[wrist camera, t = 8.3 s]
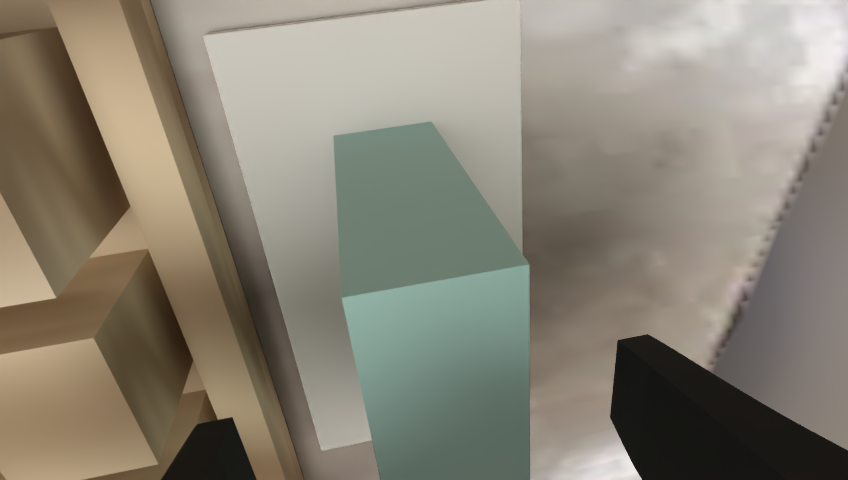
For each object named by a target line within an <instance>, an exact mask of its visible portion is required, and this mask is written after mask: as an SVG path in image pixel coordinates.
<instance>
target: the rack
mask: <svg viewBox="0 0 848 480" xmlns="http://www.w3.org/2000/svg"><path fill="white" fill-rule="evenodd" d="M50 27H58V30H59V32H60V35H61V37H62V39H63V42H64V44H65V47H66V49H67V52H68V54H69V57H70V59H71V61H72V64H73V66H74V69H75V71H76V74H77V76H78V79H79V81H80V83H81V86H82V88H83V91H84V93H85V96H86V98H87V101H88V103H89V106H90V108H91V110H92V113H93V115H94V118H95V120H96V123H97V125H98V128H99V130H100V132H101V135H102V137H103V140H104V142H105V145H106V147H107V150H108V152H109V154H110V157H111V159H112V162H113V164H114V167H115V169H116V172H117V174H118V176H119V179H120V181H121V184H122V186H123V189H124V191H125V194H126V196H127V199H128V201H129V203H130V206H131V207H130V208H129V209H128V210H127V211H126V213H125V214H124V215H123V216H122V218H121V219H120V220H119V221H118V223H117V224H116V225H115V226H114V228H113V229H112V230H111V231H110V232H109V234H108V235H107V236H106V237H105V239H104V240H103V241H102V242H101V244H100V245H99V246H98V247H97V249H96V250H95V251H94V252H93V254H92V255H91V256H90V257H89V258H93V257H99V256H106V255H112V254H118V253H124V252H130V251H136V250H143V249H148V250H149V252H150V255H151V257H152V260H153V262H154V265H155V267H156V270H157V272H158V274H159V277H160V279H161V282H162V284H163V287H164V289H165V292H166V294H167V296H168V299H169V301H170V304H171V306H172V309H173V311H174V314H175V316H176V318H177V321H178V323H179V326H180V328H181V331H182V333H183V336H184V338H185V340H186V343H187V345H188V348H189V350H190V353H191V355H192V358H193V363H192V366H191V369H190V372H189V375H188V378H187V381H186V384H185V387H184V390H183V393H182V394H185V393H190V392H195V391H200V390H206V392H207V394H208V397H209V399H210V402H211V404H212V407H213V409H214V411H215V414H216V416H217V419H218V420H220V419H225V418H230V417H233V420H234V422H235V425H236V428H237V430H238V433H239V435H240V438H241V440H242V443H243V446H244V448H245V451H246V453H247V456H248V459H249V461H250V464H251V466H252V469H253V472H254V474H255V477H256V479H257V480H304V478H303V475H302V472H301V469H300V466H299V463H298V459H297V456H296V453H295V450H294V447H293V444H292V441H291V438H290V435H289V432H288V428H287V425H286V422H285V419H284V416H283V413H282V410H281V407H280V404H279V400H278V397H277V394H276V391H275V388H274V385H273V382H272V379H271V376H270V372H269V369H268V366H267V363H266V360H265V357H264V354H263V351H262V348H261V344H260V341H259V338H258V335H257V332H256V329H255V326H254V323H253V320H252V316H251V313H250V310H249V307H248V304H247V301H246V298H245V295H244V292H243V288H242V285H241V282H240V279H239V276H238V273H237V270H236V267H235V264H234V260H233V257H232V254H231V251H230V248H229V245H228V242H227V239H226V236H225V233H224V229H223V226H222V223H221V220H220V217H219V214H218V211H217V208H216V205H215V201H214V198H213V195H212V192H211V189H210V186H209V183H208V180H207V177H206V173H205V170H204V167H203V164H202V161H201V158H200V155H199V152H198V149H197V145H196V142H195V139H194V136H193V133H192V130H191V127H190V124H189V121H188V117H187V114H186V111H185V108H184V105H183V102H182V99H181V96H180V93H179V89H178V86H177V83H176V80H175V77H174V74H173V71H172V68H171V65H170V61H169V58H168V55H167V52H166V49H165V46H164V43H163V40H162V37H161V34H160V30H159V27H158V24H157V21H156V18H155V15H154V12H153V9H152V6H151V2H150V0H0V33H8V32H17V31H25V30H33V29H42V28H50ZM0 480H6V479H5V477H4V476H3V475H2V473H1V472H0Z"/></svg>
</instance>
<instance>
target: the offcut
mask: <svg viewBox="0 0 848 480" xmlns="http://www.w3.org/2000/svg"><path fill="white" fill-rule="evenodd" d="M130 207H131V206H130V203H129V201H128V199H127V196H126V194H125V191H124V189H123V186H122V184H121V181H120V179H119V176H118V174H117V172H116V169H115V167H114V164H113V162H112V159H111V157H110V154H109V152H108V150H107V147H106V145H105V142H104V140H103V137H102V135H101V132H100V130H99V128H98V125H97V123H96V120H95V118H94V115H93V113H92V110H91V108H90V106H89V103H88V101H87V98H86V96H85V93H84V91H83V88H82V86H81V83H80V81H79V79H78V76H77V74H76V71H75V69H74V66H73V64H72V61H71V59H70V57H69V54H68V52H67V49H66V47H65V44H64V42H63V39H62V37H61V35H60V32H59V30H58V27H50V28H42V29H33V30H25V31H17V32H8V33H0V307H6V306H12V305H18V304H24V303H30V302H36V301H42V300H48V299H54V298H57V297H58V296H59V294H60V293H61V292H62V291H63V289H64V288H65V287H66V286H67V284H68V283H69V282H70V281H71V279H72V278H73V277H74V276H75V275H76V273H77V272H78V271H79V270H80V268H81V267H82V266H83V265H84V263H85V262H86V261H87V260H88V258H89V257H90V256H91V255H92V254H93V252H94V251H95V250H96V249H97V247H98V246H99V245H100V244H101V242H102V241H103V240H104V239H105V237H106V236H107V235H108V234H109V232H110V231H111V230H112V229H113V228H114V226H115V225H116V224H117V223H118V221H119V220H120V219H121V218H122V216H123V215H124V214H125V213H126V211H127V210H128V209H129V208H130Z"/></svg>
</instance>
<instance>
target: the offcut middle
mask: <svg viewBox="0 0 848 480" xmlns="http://www.w3.org/2000/svg"><path fill="white" fill-rule="evenodd" d="M192 363H193V358H192V355H191V353H190V350H189V348H188V345H187V343H186V340H185V338H184V336H183V333H182V331H181V328H180V326H179V323H178V321H177V318H176V316H175V314H174V311H173V309H172V306H171V304H170V301H169V299H168V296H167V294H166V292H165V289H164V287H163V284H162V282H161V279H160V277H159V274H158V272H157V270H156V267H155V265H154V262H153V260H152V257H151V255H150V252H149V250H148V249H143V250H136V251H130V252H124V253H118V254H112V255H106V256H99V257H93V258H88V260H87V261H86V262H85V263H84V265H83V266H82V267H81V268H80V270H79V271H78V272H77V273H76V275H75V276H74V277H73V278H72V279H71V281H70V282H69V283H68V284H67V286H66V287H65V288H64V289H63V291H62V292H61V293H60V294H59V296H58V297H57V298H54V299H48V300H42V301H36V302H30V303H24V304H18V305H12V306H6V307H0V472H1V473H2V475H3V476H4V477H5V479H6V480H83V479H88V478H93V477H98V476H103V475H108V474H113V473H118V472H123V471H128V470H133V469H138V468H143V467H148V466H153V465H157V464H159V462H160V459H161V456H162V453H163V450H164V447H165V444H166V441H167V438H168V435H169V432H170V429H171V426H172V423H173V420H174V417H175V414H176V411H177V408H178V405H179V402H180V399H181V396H182V393H183V390H184V387H185V384H186V381H187V378H188V375H189V372H190V369H191V366H192Z"/></svg>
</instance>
